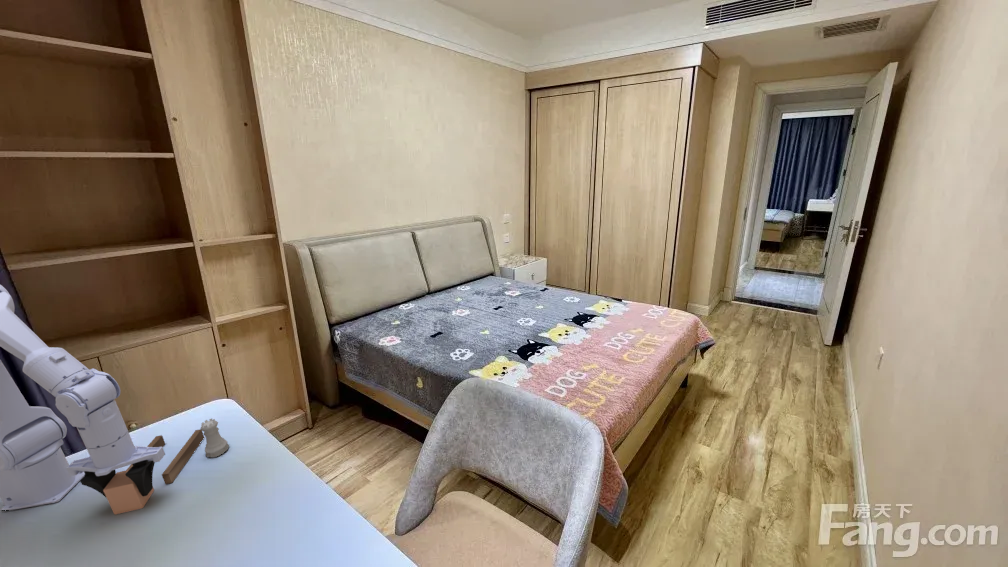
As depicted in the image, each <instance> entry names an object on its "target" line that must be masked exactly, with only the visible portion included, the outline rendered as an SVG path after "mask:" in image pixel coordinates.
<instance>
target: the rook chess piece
mask: <svg viewBox="0 0 1008 567" xmlns="http://www.w3.org/2000/svg"><path fill="white" fill-rule="evenodd" d="M218 425H219V422H218V421H216V420H215V418H209V420H208V419H206V420H204V422H202V423H201V426H200V428H199V430H201V431H202V432H203V435H204V438H205V440H206V441H205V442H206V444H205V448H204V452H205V456H206V457H208V458H210V459H211V458H212V459H213V458H218V457H220V456H222V455H224V454H225V453H226V452H227V450H229V446H230V444H228V441H227V440H226V439H225V438H224V437H223V436H222V435H221V434H220V431H219V430H220V428H219V427H218ZM225 451H226V452H225ZM224 452H225V453H224ZM223 453H224V454H223ZM221 454H222V455H221ZM217 456H218V457H217Z"/></svg>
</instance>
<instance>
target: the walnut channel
mask: <svg viewBox="0 0 1008 567" xmlns="http://www.w3.org/2000/svg"><path fill="white" fill-rule="evenodd" d="M203 438H204V439H205V435H204V431H201V430H200V429H196V430H194V432H193V433H192V435H191V436H190V437H189V438H188V440H187V441H186V442H185V444H184V445H182V448H181V449H180V450H179V452H178V453H177V454H175V457H174V458H173V459H172V460H171V462H169V464H168V466H166V468H165V469H164V471H163V472H162V473H161V476H162V479H163V482H164V484H165V485H170V484H173V483H174V481H175V480H176V478H177V477H178V475H179V474H180V473H181V471H182V470H183V468H184V467H185V465H186V464H187V463H188V461H190V459H191V457H192V456H193V455H192V454H195V452H196V450H197V449H198V448H199V446H200V445H201V443H202V442H203V441H204V439H203ZM202 440H203V441H202ZM201 441H202V442H201ZM200 442H201V443H200ZM199 444H200V445H199ZM165 445H166V442H165V439H164V437H163V435H162V434H161V435H156V436H155V437H154V438H153V439H152V440H151V442H149V444H148V445H147V446H146V447H163V448H164V447H165ZM197 447H198V448H197ZM196 448H197V449H196ZM194 451H195V452H194ZM131 467H133V465H132V464H131V465H128V466H127V469H126V470H129V469H130V468H131Z"/></svg>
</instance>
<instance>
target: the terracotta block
mask: <svg viewBox="0 0 1008 567" xmlns="http://www.w3.org/2000/svg"><path fill="white" fill-rule="evenodd" d="M128 471H129V470H127V469H126V470H122V471H117V472H116V474H115V476H114V477H113V478H112V479H111V481H110V482H109V483H108V484H107V486H106V487H105V488H104V490H103V491H104V493H105V495H106V497H105V498H106V499H107V502H108V504H109V506H110V508H111V510H112V512H113V515H116V516H117V515H119V514H122V513H128V512H131V511H137V510H140V509H143V508H144V507H145V506H146V504H147V503H148V500H150V498H151V496H152V495H153V494H154V491H155V488H154V487H153V488H152V490H151V491H150V492H149V494H148V495H147V496H142V495H141V494H140V492H139V490H138V488H137V486H136V484H135V483H134V482H133V481H132V480H131V479H130V478H128V477H127V476H126V475H125V474H126V473H127V472H128Z"/></svg>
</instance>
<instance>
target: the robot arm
mask: <svg viewBox="0 0 1008 567" xmlns="http://www.w3.org/2000/svg"><path fill="white" fill-rule="evenodd" d="M15 307H16V306H15V303H14V299H13V297H12V295H11V294H10V293H9V291H8V290H7V289H6V288H5V287H4V286H3V285H2V284H0V348H2V349H3V350H5V351H6V352H8V353H10V354H11V355H13V356H14V357H16V358H17V359H19V360H21V361H22V362H23V365H22V373H24V374H25V375H26V376H28V377H29V378H30V379H31V380H33V381H34V382H35V383H37V384H38V385H39V386H40V387H42V389H44V390H46V391H47V392H48V393H49V394H51V395H52V396H53V397H54V398H55V404H54V405H55V407H56V408H57V410H58V412H60V413H61V414H62V415H63V416H64V417H66V419H67V420H68V423H69V424H70V425H71V427H73V428H75V427H76V429H77V431H78V434H79V436H80V438H81V440H82V442H83V444H84V446H85V448H86V450H87V452H88V455H89V456H88V457H85V458H81V459H75V460H73V461H72V462H71V463H69V462H68V459H67V458H66V455H65V454H64V452H63V450H62V447H61V446H63V445H64V441H63V439H64V438H65V437H66V436H67V432H68V431H67V430H68V429H67V425H66V424H65V422H64V421H63V420H62V419H61V418H60V417H58V415H56V414H55V412H54V411H53V410H52V408H50V407H47V406H37V405H36V406H31V405H29V403H28V401H27V400H26V399H25V397H24V395H23V394H22V393H21V391H20V389H19V387H18V386H17V384H16V383H15V381H14V379H13V377H12V376H11V374H10V373H9V371H8V369H7V368H6V366H5V365H4V363H3V362H2V360H1V359H0V500H1V502H2V504H3V505H4V506H2V508H1V509H0V510H5V511H4V512H7V511H6V510H9V511H14V510H18V509H24V508H30V507H36V506H43V505H48V504H53V503H58V502H60V501H61V500H62V499H63V498H64V497H65V496H66V495H67V494H68V493H69V492H70V491H71V490H72V489H73V488H75V486H76V485H77V484H79V482H80V483H81V485H83V486H84V487H85V486H86V487H88V488H91V489H93V490H95V491H97V492H98V493H99V494H101V495H102V496H103V497H105V498H106V495H105V493H104V491H103V490H104V488H105V487H106V486H107V484H108V483H109V482H110V481H111V479H112V478H113V477H114V476H115V474H116V473H117V472H116V470H118V469H121V468H124V467H125V468H126V467H129V466H130V465H131V464H132V465H133V467H131V468H130V469H129V471H128V472H127V473H126V474H125V475H126V476H127V477H128V478H130V479H131V480H132V481H133V482H134V483H135V484H136V486H137V488H138V490H139V492H140V494H141V495H142V496H147V495H148V494H149V492H150V491H151V490H152V488H154V485H153V473H154V467H155V463H159V462H160V461H161V460H162V459H163V458H164V457H165V455H166V453H165V450H164V446H163V447H147V446H142V445H140V446H139V445H135V444H134V442H133V439H132V437H131V435H130V432H129V430H128V428H127V425H126V423H125V420H124V418H123V416H122V413H121V411H120V408H119V406H118V404H117V403H118V402H117V401H116V399H118V398H119V397H120V395H121V393H122V392H121V387H120V385H119V383H118V382H117V380H115V378H114V377H113V376H112V375H111V374H110V373H108V372H104V371H99V370H98V369H96V368H90V369H89V368H88V367H87V366H86V365H85V364H83V363H82V362H81V361H79V360H78V359H77V358H76V357H75V356H73V355H72V354H71V353H69V351H67V350H66V349H64V348H63V347H57V346H56V347H52V346H51V347H50V346H48V345H47V344H46V343H45V342H44V341H43V340H42V339H41V338H40V337H39V336H38V335H37V334H36V333H35V332H34V331H33V330H32V329H31V328H30V327H29V326H28V325H27V323H25V322H23V320H22V319H21V318H20V317H18V315H16V314H15Z"/></svg>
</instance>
